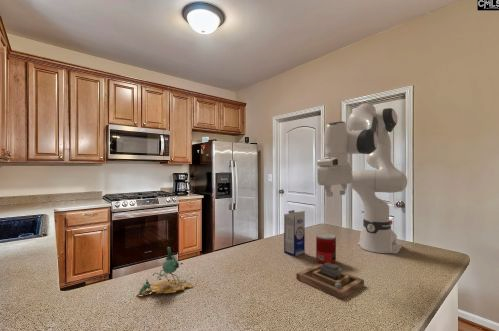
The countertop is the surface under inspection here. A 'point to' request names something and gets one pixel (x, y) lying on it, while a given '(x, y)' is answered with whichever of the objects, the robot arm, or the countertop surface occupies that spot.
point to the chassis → (330, 282)
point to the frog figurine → (170, 285)
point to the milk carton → (294, 233)
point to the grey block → (331, 271)
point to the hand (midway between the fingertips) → (336, 195)
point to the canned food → (326, 248)
